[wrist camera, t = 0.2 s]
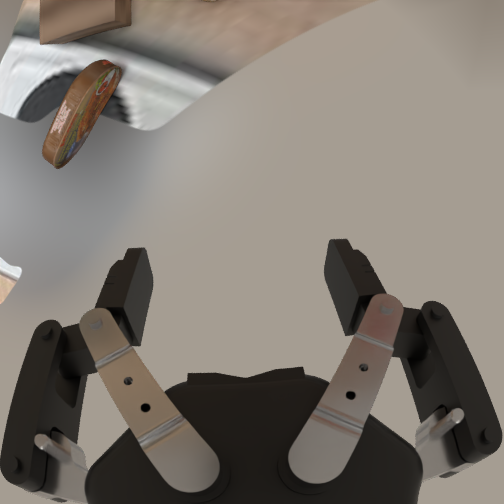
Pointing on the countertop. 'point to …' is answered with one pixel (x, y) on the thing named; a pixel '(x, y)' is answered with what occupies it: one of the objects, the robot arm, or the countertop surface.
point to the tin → (80, 111)
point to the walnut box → (80, 18)
